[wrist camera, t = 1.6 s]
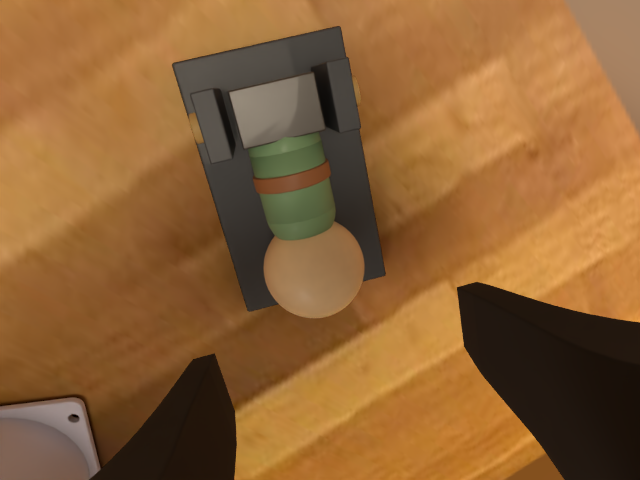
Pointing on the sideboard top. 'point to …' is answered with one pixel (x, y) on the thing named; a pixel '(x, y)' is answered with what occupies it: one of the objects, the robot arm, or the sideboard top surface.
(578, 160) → the sideboard top surface
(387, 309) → the sideboard top surface
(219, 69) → the toy stand
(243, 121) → the peg doll
